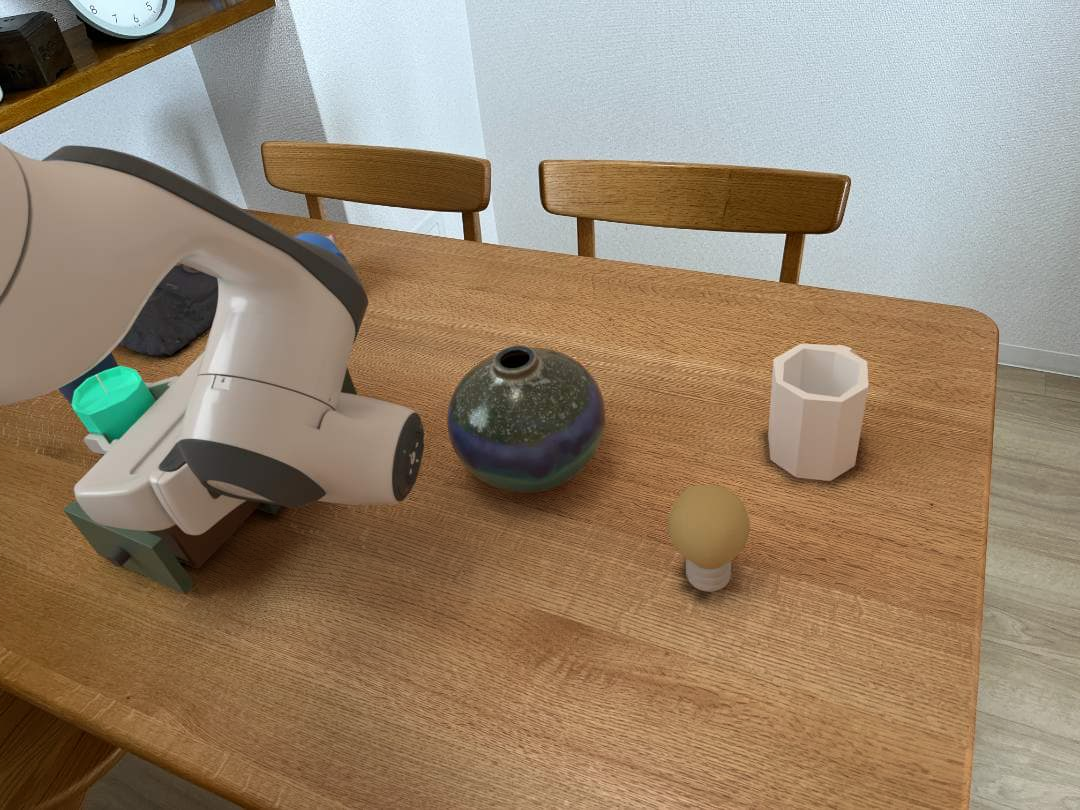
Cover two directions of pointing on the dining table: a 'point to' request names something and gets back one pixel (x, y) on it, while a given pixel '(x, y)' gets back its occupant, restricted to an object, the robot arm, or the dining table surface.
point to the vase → (526, 419)
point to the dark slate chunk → (174, 313)
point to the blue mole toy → (322, 242)
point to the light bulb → (708, 533)
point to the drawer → (158, 545)
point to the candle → (112, 401)
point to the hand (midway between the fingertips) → (115, 416)
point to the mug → (817, 410)
